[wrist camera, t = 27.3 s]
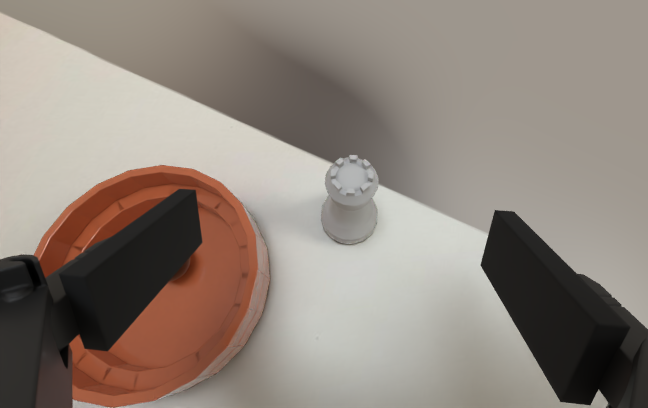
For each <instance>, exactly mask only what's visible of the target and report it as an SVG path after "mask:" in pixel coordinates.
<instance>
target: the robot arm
mask: <svg viewBox="0 0 648 408" xmlns="http://www.w3.org/2000/svg"><path fill="white" fill-rule="evenodd" d="M202 243H203V242H202V234H201V227H200V219H199V211H198V204H197V196H196V190H191V189H178V190H177V191H176V192H174V193H173V194H171V195H170V196H168V197H167V198H166V199H164V200H163V201H161V202H160V203H159V204H157V205H156V206H154V207H153V208H151V209H150V210H149V211H147V212H146V213H144V214H143V215H142V216H140V217H139V218H137V219H136V220H134V221H133V222H132V223H130V224H129V225H127V226H126V227H125V228H123V229H122V230H120V231H119V232H117V233H116V234H115V235H113V236H112V237H109V238H107V239H104V240H102V241H100V242H97V243H95V244H94V245H92V246H91V247H89V248H88V249H86V250H85V251H84V253H81V254H79V255H78V256H76V257H75V259H72V260H70V261H69V262H68V263H66V264H65V265H63V266H62V267H60V268H59V269H57V270H56V271H54V272H53V273H52V274H50V275H49V276H47V277H46V278H45V276H44V273H43V270H42V268H41V265H40V262H39V260H38V257H36V256H33V255H18V256H11V257H7V258H4V259H0V408H72V354H73V353H72V350H71V347H70V344H69V343H71V342H72V341H73V340H74V339H75V338H76V337H77V336H78V335H79V334H80V337H81V340H82V343H83V346H84V349H90V350H99V351H109V350H110V349H111V347H112V346H113V345H114V344H115V343H116V342H117V340H118V339H119V338H120V337H121V336H122V335H123V334H124V332H125V331H126V330H127V329H128V328H129V327H130V326H131V324H132V323H133V322H134V321H135V320H136V319H137V317H138V316H139V315H140V314H141V313H142V312H143V311H144V309H145V308H146V307H147V306H148V305H149V304H150V303H151V301H152V300H153V299H154V298H155V297H156V296H157V294H158V293H159V292H160V291H161V290H162V289H163V288H164V286H165V285H166V284H167V283H168V282H169V281H170V280H171V278H172V277H173V276H174V275H175V274H176V273H177V271H178V270H179V269H180V268H181V267H182V266H183V265H184V263H185V262H186V261H187V260H188V259H189V258H190V257H191V255H192V254H193V253H194V252H195V251H196V250H197V248H198V247H199V246H200V245H201V244H202ZM481 267H482V269H483V270H484V272H485V274H486V275H487V277H488V279H489V280H490V282H491V284H492V286H493V287H494V289H495V291H496V292H497V294H498V296H499V298H500V299H501V301H502V303H503V304H504V306H505V308H506V310H507V311H508V313H509V315H510V316H511V318H512V320H513V322H514V323H515V325H516V327H517V328H518V330H519V332H520V333H521V335H522V337H523V339H524V340H525V342H526V344H527V345H528V347H529V349H530V351H531V352H532V354H533V356H534V357H535V359H536V361H537V363H538V364H539V366H540V368H541V369H542V371H543V373H544V375H545V376H546V378H547V380H548V381H549V383H550V385H551V386H552V388H553V390H554V392H555V393H556V395H557V397H558V398H559V400H560V402H566V403H575V404H584V405H591V403H592V401H593V399H594V397H595V395H596V393H597V391H598V389H599V390H600V392H601V393H602V394H603V396H604V397H605V398H606V400H607V401H608V405H607V407H606V408H648V329H647V328H645V326H644V325H642V324H641V323H640V322H639V321H638V320H637V319H636V318H635V317H634V316H633V315H632V314H631V313H630V312H629V311H628V310H626V309H625V308H624V307H621V304H620V303H619V302H618V301H617V300H616V299H615V298H612V297H611V295H610V294H609V293H608V292H607V291H606V290H605V289H604V288H603V287H602V286H601V285H600V284H598V283H596V282H595V281H593V280H591V279H590V278H588V277H587V276H585V275H582V274H576V273H575V272H574V271H573V270H572V269H571V268H570V267H569V266H568V265H567V264H566V263H565V262H564V261H563V260H562V259H561V258H560V257H559V256H558V255H557V254H556V253H555V252H554V251H553V250H552V249H551V248H550V247H549V246H548V245H547V244H546V243H545V242H544V241H543V240H542V239H541V238H540V237H539V236H538V235H537V234H536V233H535V232H534V231H533V230H532V229H531V228H530V227H529V226H528V225H527V224H526V223H525V222H524V221H523V220H522V219H521V218H520V217H519V216H518V215H517V214H516V213H515V212H512V211H498V210H495V212H494V216H493V220H492V224H491V227H490V231H489V235H488V239H487V243H486V247H485V250H484V254H483V258H482V262H481Z"/></svg>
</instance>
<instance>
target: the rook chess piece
mask: <svg viewBox="0 0 648 408" xmlns="http://www.w3.org/2000/svg"><path fill="white" fill-rule="evenodd" d="M325 186H326V189H327V192H328V194H329V196H328V197H327V198H326V200H325V202H324V204H323V206H322V214H321V221H322V225H323V228H324V230H325V231H326V232H327V234H328V235H329V236H330V237H331V238H332V239H334V240H336V241H338V242H340V243H347V244H354V243H357V242H361V241H364V240H365V239H366V238H367V237H368V236H370V235H371V234H372V232H373V230H374V228H375V226H376V224H377V208H376V205H375V203H374V200H373V199H372V197H373V196H374V194H375V192H376V190H377V188H378V176H377V174H376V171H375V169H374V168H373V167H372V166H371V164H370V163H369V162H368V161H367V160H366V159H364V160H361V159H359V158H357V155H349V158H345V159H342V158H340V159H338V160H337V161H336V162H335V163H334V164H333V165H332V166H331V167H330V168H329V170H328V172H327V173H326V178H325Z"/></svg>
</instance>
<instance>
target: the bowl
mask: <svg viewBox="0 0 648 408" xmlns="http://www.w3.org/2000/svg"><path fill="white" fill-rule="evenodd" d="M178 189H191V190H196V196H197V204H198V211H199V219H200V227H201V234H202V242H203V243H202V244H201V245H200V246H199V247H198V248H197V250H196V251H195V252H194V253H193V254H192V255H191V257H190V265H189V268H188V270H187V271H186V273H185V274H184V275H183V276H181V277H180V278H178V279H176V280H174V281H170V282H168V283H167V284H166V285H165V286H164V288H163V289H162V290H161V291H160V292H159V293H158V294H157V296H156V297H155V298H154V299H153V300H152V301H151V303H150V304H149V305H148V306H147V307H146V308H145V309H144V311H143V312H142V313H141V314H140V315H139V316H138V317H137V319H136V320H135V321H134V322H133V323H132V324H131V326H130V327H129V328H128V329H127V330H126V331H125V332H124V334H123V335H122V336H121V337H120V338H119V339H118V340H117V342H116V343H115V344H114V345H113V346H112V347H111V349H110V350H109V351H99V350H90V349H84V346H83V343H82V340H81V337H80V334H79V335H78V336H77V337H76V338H75V339H74V340H73V341H72V342H71V343H69V344H70V347H71V350H72V353H73V354H72V399H74V400H77V401H81V402H86V403H91V404H96V405H101V406H105V407H110V408H112V407H113V408H115V407H121V406H127V405H133V404H139V403H145V402H150V401H155V400H158V399H161V398H164V397H167V396H170V395H173V394H175V393H178V392H181V391H184V390H186V389H188V388H190V387H192V386H194V385H196V384H198V383H199V382H201V381H203V380H205V379H207V378H209V377H211V376H212V375H214V374H216V373H217V372H219V371H220V370H221V369H222V368H223V367H224V366H225V365H226V364H227V363H228V362H229V361H230V360H231V359H232V358H233V357H234V356H235V355H236V354H237V353H238V352H239V351H240V350H241V349H242V348H243V347H244V345H245V344H246V342H247V341H248V339H249V337H250V335H251V333H252V331H253V330H254V328H255V326H256V324H257V322H258V320H259V319H260V317H261V315H262V313H263V309H264V305H265V300H266V296H267V291H268V286H269V282H270V273H269V263H268V252H267V247H266V244H265V242H264V240H263V238H262V236H261V233H260V231H259V229H258V227H257V225H256V222H255V221H254V220H253V218H252V217H251V216H250V214H249V213H248V211H247V210H246V209H245V207H244V206H243V205H242V203H241V202H240V201H239V200H238V199H237V198H236V197H235V196H234V195H233V194H232V193H231V192H230V191H229V190H228V189H227V188H226V187H225V186H224V185H223V184H222V183H221V182H219V181H217V180H215V179H213V178H211V177H209V176H207V175H205V174H203V173H201V172H198V171H196V170H194V169H189V168H181V167H173V166H165V165H160V166H153V167H147V168H141V169H134V170H130V171H127V172H124V173H122V174H120V175H117V176H115V177H113V178H110V179H108V180H106V181H104V182H101V183H99V184H98V185H96V186H94V187H93V188H92V189H90V190H89V191H88V192H86V193H85V194H84V195H82V196H81V197H80V198H78V199H77V200H76V201H74V202H73V203H72V204H70V205H69V206H68V207H67V208H66V209H65V210H64V211H63V213H62V214H61V215H60V216H59V217H58V219H57V220H56V221H55V222H54V223H53V225H52V226H51V227H50V228H49V229H48V231H47V232H46V233H45V234H44V236H43V237H42V239H41V241H40V243H39V245H38V247H37V249H36V251H35V253H34V255H33V256H36V257H38V260H39V262H40V265H41V268H42V270H43V273H44V276H45V278H46V277H47V276H49V275H50V274H52V273H53V272H54V271H56V270H57V269H59V268H60V267H62V266H63V265H65V264H66V263H68V262H69V261H70V260H72V259H75V257H76V256H78V255H79V254H81V253H84V251H85V250H86V249H88V248H89V247H91V246H92V245H94V244H95V243H97V242H100V241H102V240H104V239H107V238H109V237H112V236H113V235H115V234H116V233H117V232H119V231H120V230H122V229H123V228H125V227H126V226H127V225H129V224H130V223H132V222H133V221H134V220H136V219H137V218H139V217H140V216H142V215H143V214H144V213H146V212H147V211H149V210H150V209H151V208H153V207H154V206H156V205H157V204H159V203H160V202H161V201H163V200H164V199H166V198H167V197H168V196H170V195H171V194H173V193H174V192H176V191H177V190H178Z"/></svg>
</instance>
